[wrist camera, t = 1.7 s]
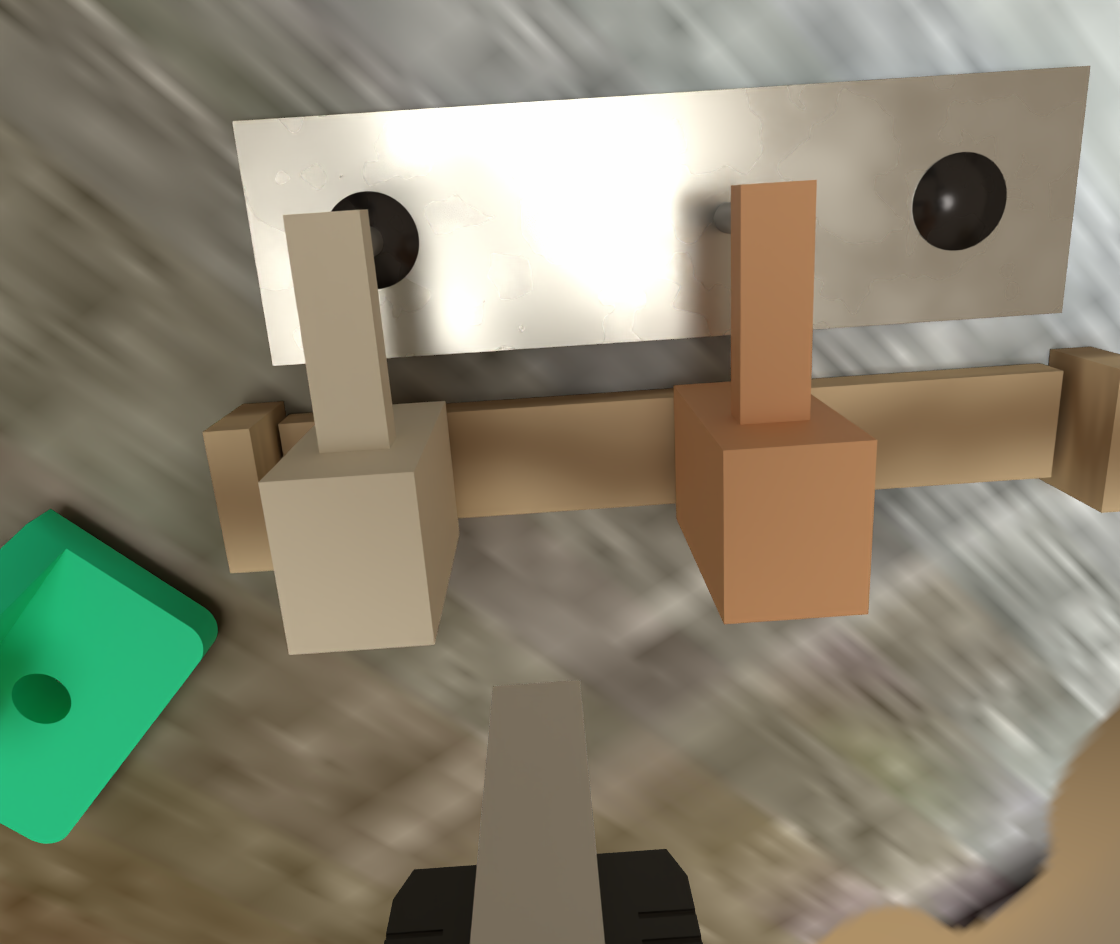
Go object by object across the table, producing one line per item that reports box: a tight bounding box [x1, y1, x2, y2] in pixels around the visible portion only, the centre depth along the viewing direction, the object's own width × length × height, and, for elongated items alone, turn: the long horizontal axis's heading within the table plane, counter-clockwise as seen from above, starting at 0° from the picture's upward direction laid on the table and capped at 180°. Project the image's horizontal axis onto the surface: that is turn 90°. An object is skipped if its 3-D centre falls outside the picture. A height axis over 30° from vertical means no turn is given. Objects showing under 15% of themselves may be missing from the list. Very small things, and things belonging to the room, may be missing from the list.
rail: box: [203, 347, 1120, 573], centre depth 30 cm, size 5×32×4 cm, turn 94°
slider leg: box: [674, 180, 877, 624], centre depth 26 cm, size 12×4×8 cm, turn 4°
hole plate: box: [232, 66, 1090, 366], centre depth 29 cm, size 8×28×1 cm, turn 94°
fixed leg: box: [258, 209, 459, 655], centre depth 26 cm, size 12×4×8 cm, turn 4°
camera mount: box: [0, 509, 218, 843], centre depth 30 cm, size 12×8×10 cm, turn 141°
